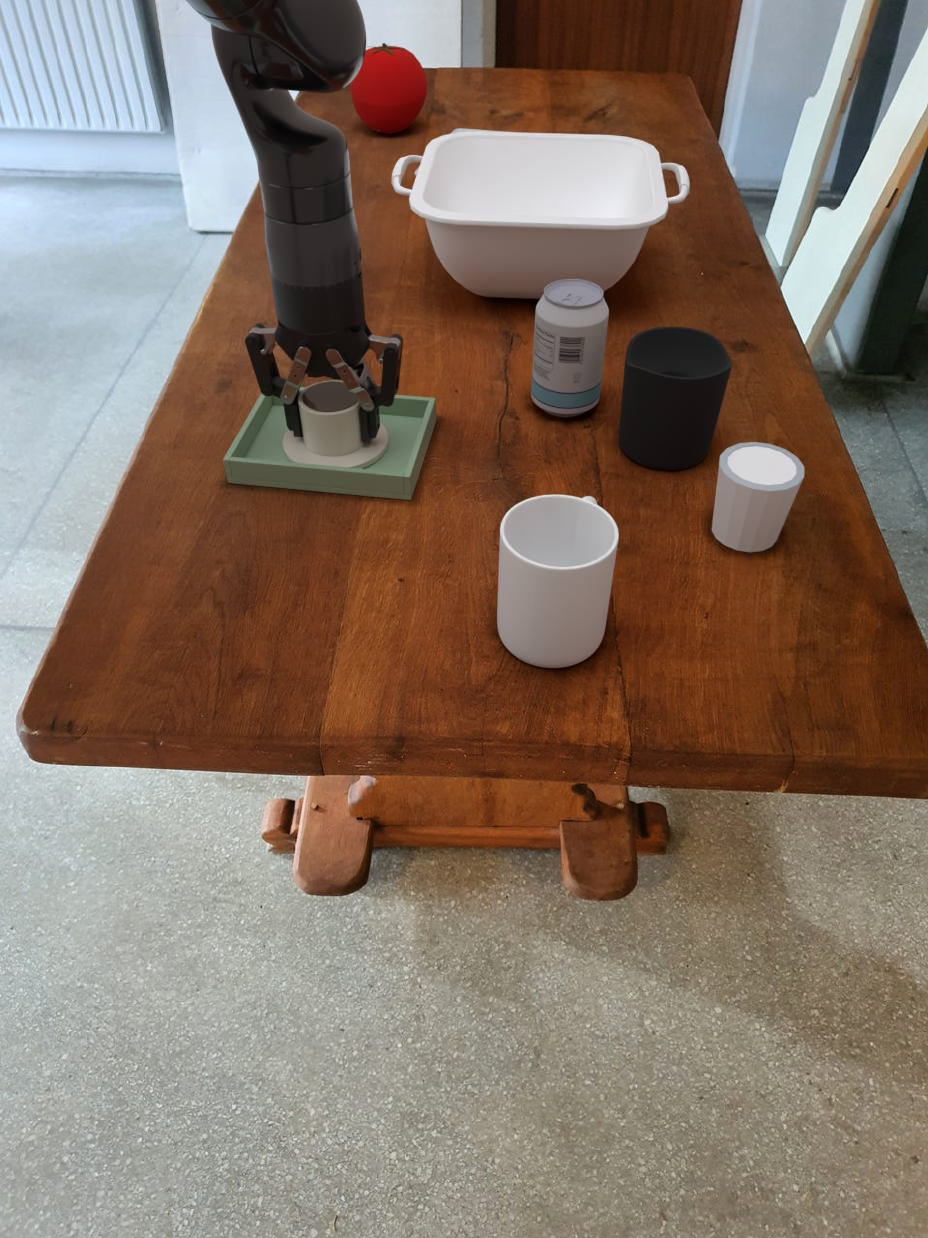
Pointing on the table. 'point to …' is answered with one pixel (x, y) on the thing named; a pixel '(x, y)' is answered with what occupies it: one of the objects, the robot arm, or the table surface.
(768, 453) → the white short cylinder
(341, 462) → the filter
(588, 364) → the beverage can
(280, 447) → the tray
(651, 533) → the table surface
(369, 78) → the tomato
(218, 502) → the table surface
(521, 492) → the table surface
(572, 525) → the cup
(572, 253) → the baking dish
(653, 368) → the pen holder
